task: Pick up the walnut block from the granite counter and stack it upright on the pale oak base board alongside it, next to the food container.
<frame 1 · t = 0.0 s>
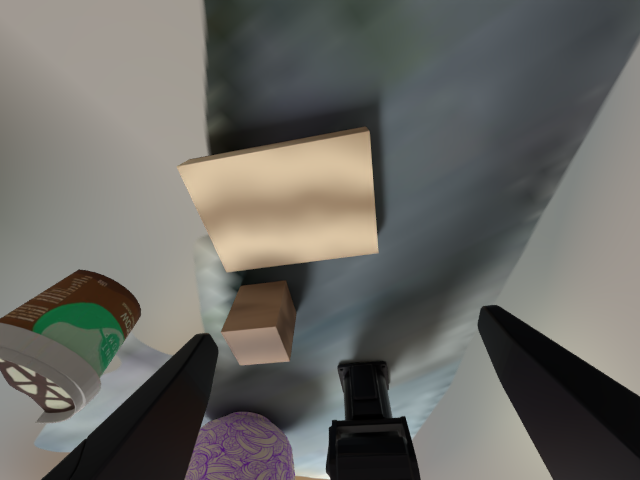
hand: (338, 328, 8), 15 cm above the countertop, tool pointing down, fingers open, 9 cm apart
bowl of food: (248, 421, 44), on the countertop
oak base: (289, 203, 22), on the countertop
food container: (124, 302, 30), on the countertop
walnut block: (269, 299, 28), on the countertop
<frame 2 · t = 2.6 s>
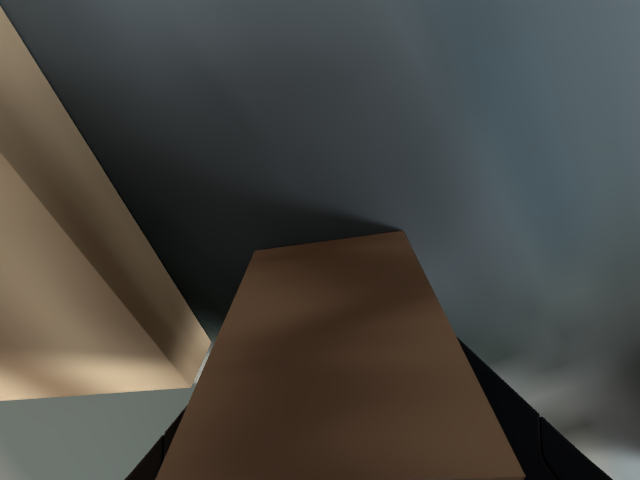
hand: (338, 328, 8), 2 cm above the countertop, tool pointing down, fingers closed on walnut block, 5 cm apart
walnut block: (337, 295, 10), on the countertop, touching gripper
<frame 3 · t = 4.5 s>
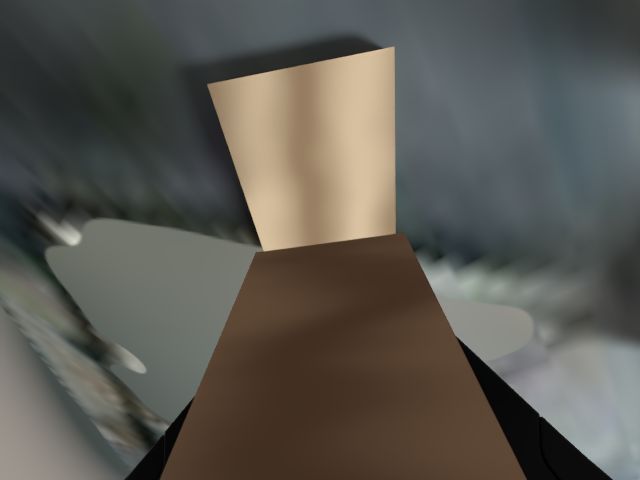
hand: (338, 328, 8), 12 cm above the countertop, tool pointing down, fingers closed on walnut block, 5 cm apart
oak base: (319, 181, 19), on the countertop
walnut block: (337, 297, 10), point 11 cm above the countertop, touching gripper
when the fingers open (5 cm above the countertop, at t = 6.3 s): walnut block drops 1 cm, resting on oak base.
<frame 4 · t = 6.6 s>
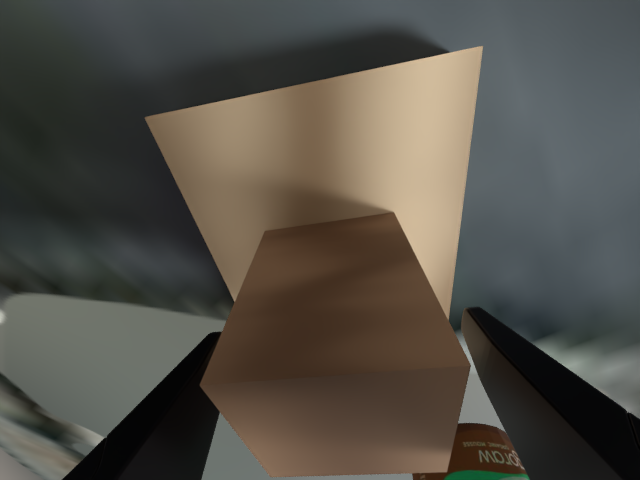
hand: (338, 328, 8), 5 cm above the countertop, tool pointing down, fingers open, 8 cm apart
oak base: (334, 245, 13), on the countertop
food container: (467, 430, 23), on the countertop
walnut block: (336, 272, 11), point 2 cm above the countertop, touching oak base
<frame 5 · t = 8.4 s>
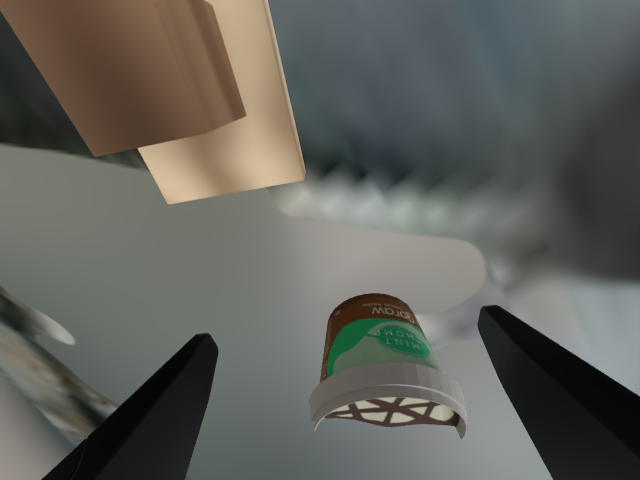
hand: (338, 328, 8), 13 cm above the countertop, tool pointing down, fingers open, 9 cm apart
oak base: (202, 75, 16), on the countertop
food container: (375, 305, 26), on the countertop
walnut block: (188, 76, 14), point 2 cm above the countertop, touching oak base
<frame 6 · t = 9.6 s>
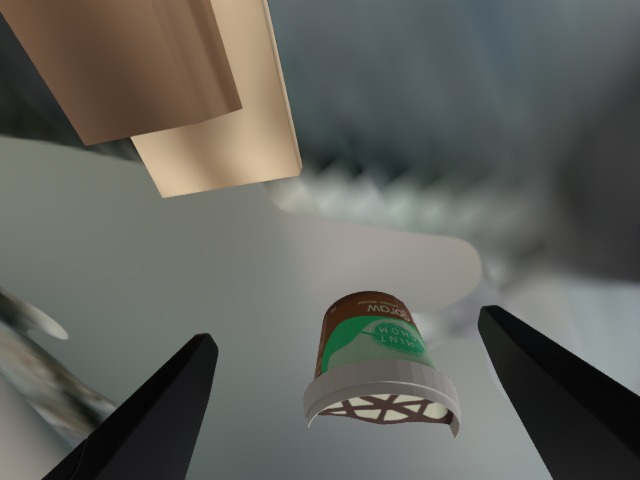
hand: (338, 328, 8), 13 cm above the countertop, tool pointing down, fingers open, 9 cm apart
oak base: (198, 67, 16), on the countertop
food container: (371, 303, 26), on the countertop
walnut block: (184, 67, 14), point 2 cm above the countertop, touching oak base
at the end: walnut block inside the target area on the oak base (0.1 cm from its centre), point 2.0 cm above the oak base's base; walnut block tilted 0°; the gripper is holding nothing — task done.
